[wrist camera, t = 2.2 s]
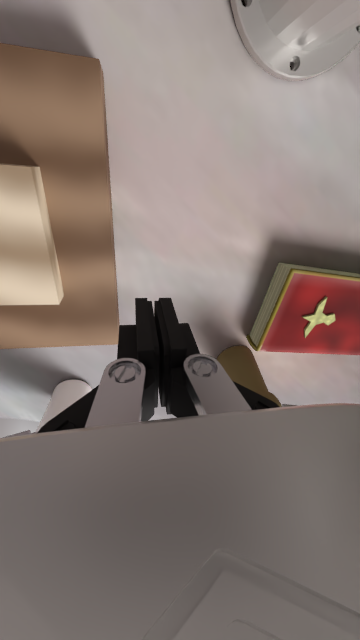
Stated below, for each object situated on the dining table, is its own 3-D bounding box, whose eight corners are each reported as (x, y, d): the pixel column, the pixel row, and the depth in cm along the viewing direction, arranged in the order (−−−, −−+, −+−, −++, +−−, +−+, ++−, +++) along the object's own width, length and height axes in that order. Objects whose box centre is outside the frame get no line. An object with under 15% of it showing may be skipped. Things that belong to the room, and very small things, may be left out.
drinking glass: (92, 408, 38) (73, 526, 26) (45, 402, 36) (0, 528, 24) (103, 378, 35) (88, 494, 23) (53, 369, 33) (5, 494, 21)
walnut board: (-153, 33, 16) (-205, 9, 13) (103, 72, 19) (98, 59, 16) (-21, 334, 29) (-36, 350, 26) (119, 329, 31) (118, 344, 29)
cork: (221, 344, 36) (251, 407, 27) (258, 346, 37) (299, 405, 28) (211, 375, 39) (235, 440, 30) (245, 375, 40) (279, 437, 31)
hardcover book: (357, 342, 41) (378, 359, 38) (244, 336, 36) (256, 354, 33) (403, 276, 35) (433, 288, 32) (275, 257, 30) (294, 270, 27)
